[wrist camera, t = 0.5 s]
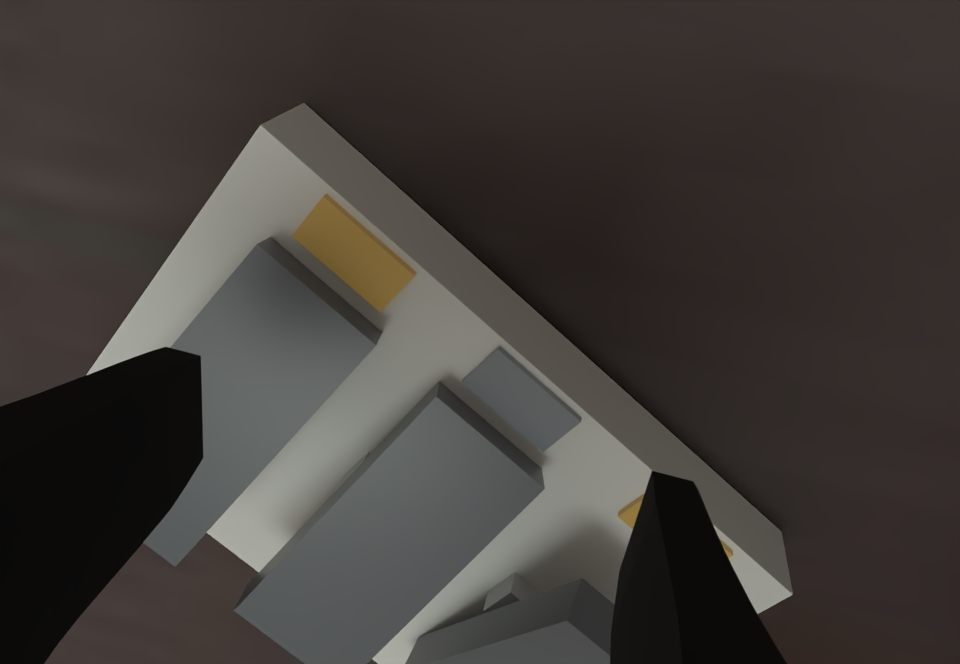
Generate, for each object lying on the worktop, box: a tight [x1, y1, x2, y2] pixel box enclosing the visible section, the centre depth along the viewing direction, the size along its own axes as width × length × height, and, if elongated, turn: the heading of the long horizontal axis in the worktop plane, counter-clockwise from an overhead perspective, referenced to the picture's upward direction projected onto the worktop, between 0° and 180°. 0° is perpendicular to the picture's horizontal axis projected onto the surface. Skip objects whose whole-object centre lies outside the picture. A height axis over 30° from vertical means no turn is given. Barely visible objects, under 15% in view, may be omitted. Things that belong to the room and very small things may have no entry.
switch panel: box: [87, 103, 793, 664], centre depth 23 cm, size 18×12×3 cm, turn 50°
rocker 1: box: [143, 237, 383, 567], centre depth 20 cm, size 4×8×1 cm, turn 140°
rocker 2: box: [234, 381, 545, 664], centre depth 21 cm, size 4×8×1 cm, turn 140°
